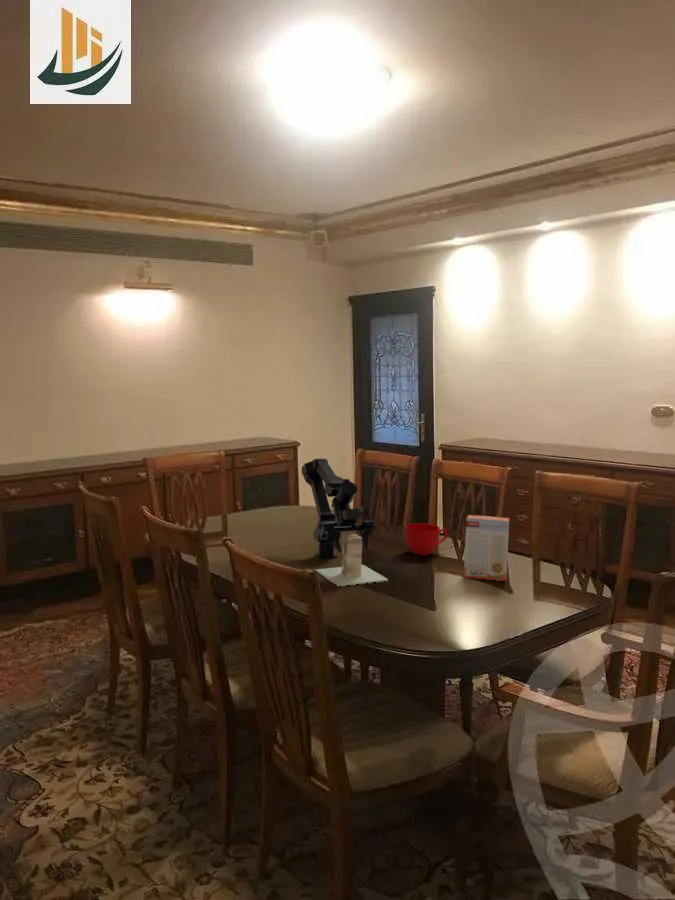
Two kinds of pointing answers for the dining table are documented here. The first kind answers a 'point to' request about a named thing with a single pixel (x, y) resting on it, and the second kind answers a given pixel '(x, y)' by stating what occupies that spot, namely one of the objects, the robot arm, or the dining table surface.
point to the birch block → (351, 555)
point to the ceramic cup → (423, 537)
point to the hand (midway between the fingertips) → (353, 551)
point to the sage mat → (342, 580)
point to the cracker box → (486, 548)
